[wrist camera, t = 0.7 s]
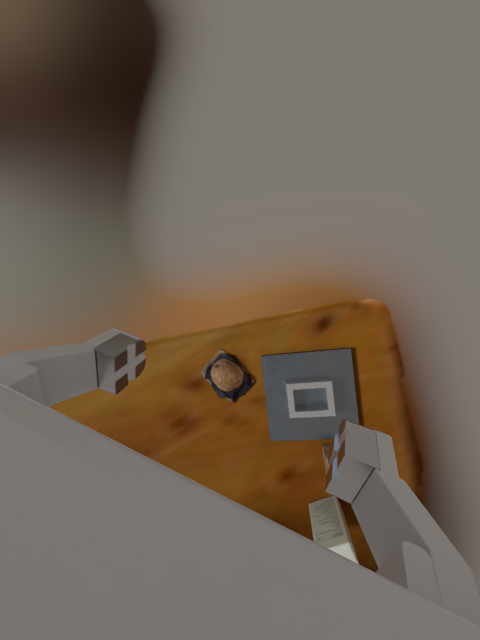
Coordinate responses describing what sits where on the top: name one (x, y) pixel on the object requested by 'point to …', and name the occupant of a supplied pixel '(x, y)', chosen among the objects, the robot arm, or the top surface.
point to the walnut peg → (326, 456)
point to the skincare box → (331, 527)
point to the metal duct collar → (309, 393)
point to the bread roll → (227, 376)
